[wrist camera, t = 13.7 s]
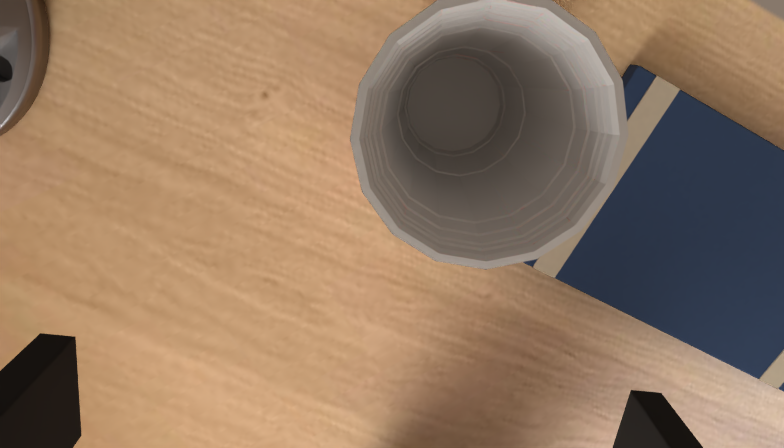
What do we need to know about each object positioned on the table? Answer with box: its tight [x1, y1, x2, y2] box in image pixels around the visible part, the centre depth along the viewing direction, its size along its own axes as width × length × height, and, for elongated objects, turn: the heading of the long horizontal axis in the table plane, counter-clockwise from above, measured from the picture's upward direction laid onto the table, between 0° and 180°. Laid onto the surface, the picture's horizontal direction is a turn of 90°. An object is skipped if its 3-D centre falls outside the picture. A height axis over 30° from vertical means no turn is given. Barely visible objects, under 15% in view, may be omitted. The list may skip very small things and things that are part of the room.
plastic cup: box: [350, 0, 628, 270], centre depth 27 cm, size 11×11×12 cm
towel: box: [523, 65, 784, 391], centre depth 36 cm, size 22×13×1 cm, turn 62°
